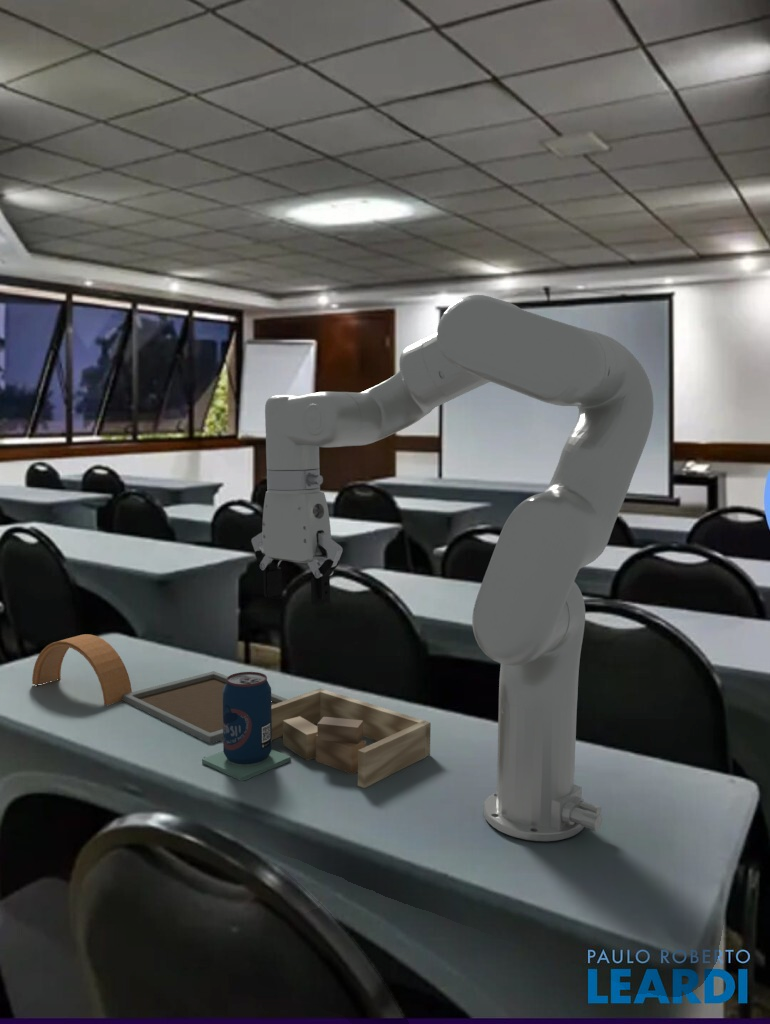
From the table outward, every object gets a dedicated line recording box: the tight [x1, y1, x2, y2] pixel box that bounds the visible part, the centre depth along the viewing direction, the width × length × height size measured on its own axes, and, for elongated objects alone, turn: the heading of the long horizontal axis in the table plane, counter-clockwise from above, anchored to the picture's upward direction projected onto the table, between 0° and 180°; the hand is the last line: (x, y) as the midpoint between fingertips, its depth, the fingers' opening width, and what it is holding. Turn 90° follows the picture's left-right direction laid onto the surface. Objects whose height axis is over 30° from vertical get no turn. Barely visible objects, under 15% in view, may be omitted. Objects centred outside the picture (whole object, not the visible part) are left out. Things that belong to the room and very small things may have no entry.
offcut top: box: [316, 717, 364, 744], centre depth 119 cm, size 6×3×2 cm, turn 76°
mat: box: [201, 749, 292, 782], centre depth 120 cm, size 9×9×1 cm
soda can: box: [222, 671, 273, 766], centre depth 119 cm, size 7×7×12 cm
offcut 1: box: [282, 716, 318, 761], centre depth 124 cm, size 7×3×4 cm, turn 37°
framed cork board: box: [122, 671, 288, 745], centre depth 142 cm, size 19×2×30 cm
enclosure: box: [271, 688, 431, 789], centre depth 124 cm, size 23×15×5 cm, turn 49°
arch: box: [31, 633, 133, 706], centre depth 149 cm, size 6×20×10 cm, turn 59°
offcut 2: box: [315, 735, 367, 775], centre depth 119 cm, size 7×3×4 cm, turn 51°
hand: (296, 599), depth 120 cm, fingers open, 9 cm apart
